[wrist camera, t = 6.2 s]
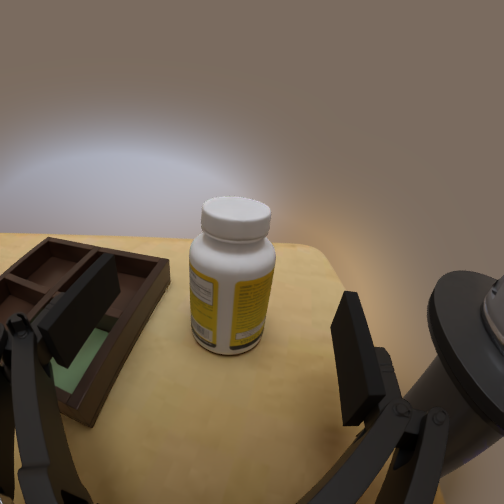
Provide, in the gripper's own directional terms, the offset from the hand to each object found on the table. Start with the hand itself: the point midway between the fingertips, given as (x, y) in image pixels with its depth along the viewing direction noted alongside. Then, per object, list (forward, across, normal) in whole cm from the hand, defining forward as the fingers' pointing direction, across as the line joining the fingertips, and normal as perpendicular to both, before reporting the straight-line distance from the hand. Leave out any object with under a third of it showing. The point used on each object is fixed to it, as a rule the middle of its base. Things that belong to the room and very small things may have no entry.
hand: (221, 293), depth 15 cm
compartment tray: (0, -14, -6) cm, 15 cm away
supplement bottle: (+3, 0, -6) cm, 7 cm away
